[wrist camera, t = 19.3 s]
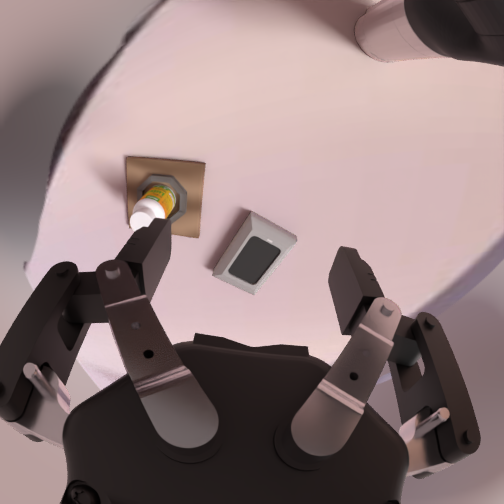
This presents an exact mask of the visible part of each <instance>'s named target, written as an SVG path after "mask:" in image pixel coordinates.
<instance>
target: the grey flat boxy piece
mask: <svg viewBox="0 0 504 504" xmlns="http://www.w3.org/2000/svg"><path fill="white" fill-rule="evenodd" d="M296 242H297V236H296V235H294V234H292V233H291V232H289V231H287V230H285V229H283V228H282V227H280V226H278V225H276V224H275V223H273V222H271V221H269V220H267V219H266V218H264V217H262V216H260V215H258V214H256V213H255V212H253V211H251V212H250V214H249V215H248V217H247V219H246V220H245V222H244V223H243V225H242V226H241V228H240V229H239V231H238V232H237V234H236V235H235V237H234V238H233V240H232V242H231V243H230V245H229V246H228V248H227V249H226V251H225V252H224V254H223V256H222V257H221V259H220V260H219V262H218V263H217V265H216V267H215V268H214V270H213V274H212V276H214V277H216V278H218V279H220V280H222V281H224V282H227V283H229V284H231V285H233V286H235V287H237V288H239V289H242V290H244V291H246V292H248V293H250V294H252V295H255V294H256V293H257V291H258V290H259V289H260V288H261V287H262V285H263V284H264V283H265V282H266V280H267V279H268V278H269V277H270V276H271V274H272V273H273V272H274V271H275V269H276V268H277V267H278V266H279V264H280V263H281V262H282V261H283V259H284V258H285V257H286V256H287V254H288V253H289V252H290V251H291V249H292V248H293V247H294V245H295V244H296Z"/></svg>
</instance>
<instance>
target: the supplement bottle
mask: <svg viewBox="0 0 504 504" xmlns="http://www.w3.org/2000/svg"><path fill="white" fill-rule="evenodd" d="M175 203H176V198H175V194H174V192H173V191H172V190H171V189H170V188H169V187H167V186H165V185H155V186H153V187H152V188H151V189H150V190H149V191H148V192H147V193H146V194H145V195H144V196H143V197H142V198H141V199H140V200H139V201H138V202H137V203H136V204H135V206H134V208H133V214H132V216H131V218H130V226H131V228H132V229H133V231H134V232H135V231H136V230H138V229H139V228H141V227H143V226H145V227H148V226H149V225H150V223H151V222H152V221H153V219H154V218H163V219H166V218H167V217H168V215H169V214H170V212H171V211H172V209H173V208H174V206H175Z"/></svg>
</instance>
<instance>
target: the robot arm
mask: <svg viewBox="0 0 504 504" xmlns="http://www.w3.org/2000/svg"><path fill="white" fill-rule="evenodd" d="M355 37H356V40H357V42H358V44H359V46H360V47H361V49H362V50H363V51H364V52H365V53H366V54H367V55H369V56H370V57H372V58H373V59H376V60H378V61H381V62H394V61H404V60H414V59H427V58H450V57H452V58H454V59H457V60H463V61H475V62H482V63H488V64H494V65H499V66H504V0H381V1H380V2H378V3H376V4H375V5H373V6H372V7H370V8H369V9H367V11H366V14H365V15H363V16H362V17H360V18H359V19H358V21H357V22H356V25H355ZM170 255H171V220H170V219H163V218H154V219H153V221H152V222H151V223H150V225H149V226H148V227H145V226H143V227H141V228H139V229H138V230H136V231H135V232H134V233H133V235H132V236H131V237H130V239H129V240H128V241H127V244H125V245H124V247H123V248H122V250H121V251H120V252H119V254H118V255H117V257H116V258H115V259H114V260H108V261H105V262H103V263H101V264H100V265H99V266H98V267H97V269H96V271H95V272H78V268H77V266H76V264H74V263H73V262H68V261H66V262H60V263H58V264H56V265H54V266H53V267H51V268H50V270H49V271H48V272H47V274H46V275H45V276H44V278H43V279H42V280H41V282H40V283H39V285H38V286H37V287H36V289H35V290H34V292H33V293H32V295H31V296H30V298H29V299H28V301H27V302H26V304H25V305H24V307H23V308H22V310H21V311H20V313H19V314H18V316H17V318H16V319H15V321H14V323H13V324H12V326H11V328H10V329H9V331H8V333H7V334H6V336H5V338H4V340H3V341H2V343H1V345H0V418H1V419H2V420H4V421H5V422H6V423H7V424H9V425H10V426H11V427H13V428H14V429H15V430H16V431H18V432H19V433H21V434H23V435H25V436H26V437H28V438H29V439H30V440H32V441H36V442H41V441H46V442H48V443H50V444H53V445H55V446H57V447H60V448H62V449H64V451H65V455H66V462H67V471H68V480H67V487H66V490H65V493H64V495H63V497H62V500H61V502H60V504H401V493H402V488H403V484H404V481H405V478H406V477H407V476H411V475H412V476H413V477H415V478H417V479H422V478H425V477H427V476H429V475H431V474H434V473H436V472H438V471H440V470H443V469H444V468H447V467H449V466H450V465H452V464H454V463H456V462H458V461H460V460H462V459H464V458H466V457H467V456H469V455H471V454H473V453H474V452H475V451H476V450H477V449H478V447H479V445H480V439H481V437H480V431H479V427H478V424H477V420H476V417H475V413H474V410H473V406H472V403H471V400H470V397H469V394H468V391H467V388H466V385H465V382H464V380H463V377H462V374H461V372H460V369H459V366H458V364H457V362H456V359H455V356H454V354H453V351H452V349H451V347H450V344H449V342H448V340H447V337H446V335H445V333H444V331H443V329H442V326H441V324H440V323H439V321H438V320H437V319H436V318H435V317H434V316H433V315H431V314H429V313H426V312H421V313H419V314H418V315H417V317H416V318H415V319H412V318H409V317H406V316H403V315H402V313H401V310H400V308H399V306H398V305H397V304H396V303H395V302H393V301H392V300H390V299H387V298H385V297H384V294H383V292H382V290H381V288H380V286H379V284H378V282H377V281H376V277H375V275H374V273H373V271H372V269H371V267H370V266H369V265H368V264H367V263H366V262H365V261H364V260H361V258H360V256H359V254H358V252H357V250H356V249H355V248H349V247H343V246H341V247H340V248H339V249H338V252H337V254H336V257H335V260H334V262H333V265H332V268H331V270H330V273H329V279H328V283H329V287H330V291H331V295H332V298H333V302H334V306H335V310H336V314H337V318H338V321H339V325H340V330H341V334H342V335H351V339H350V341H349V342H348V344H347V345H346V347H345V348H344V350H343V351H342V353H341V354H340V356H339V357H338V359H337V360H336V362H335V363H334V364H333V366H332V367H331V366H330V365H328V364H327V363H325V362H324V361H322V360H320V359H318V358H316V357H313V356H310V355H309V352H308V347H307V346H294V345H283V344H280V345H271V346H262V347H250V346H247V345H244V344H241V343H238V342H235V341H232V340H229V339H226V338H224V337H217V336H211V335H205V334H198V333H195V336H194V340H193V341H187V342H181V343H177V344H174V345H172V344H171V342H170V340H169V338H168V336H167V335H166V333H165V331H164V329H163V327H162V325H161V323H160V322H159V320H158V318H157V316H156V314H155V312H154V310H153V308H152V306H151V304H150V302H151V300H152V297H153V295H154V293H155V290H156V288H157V286H158V284H159V281H160V279H161V277H162V275H163V273H164V270H165V268H166V266H167V264H168V262H169V259H170ZM91 323H109V325H110V328H111V331H112V334H113V337H114V340H115V343H116V345H117V348H118V351H119V354H120V356H121V359H122V361H123V364H124V367H125V369H126V372H127V374H126V375H124V376H122V377H121V378H119V379H118V380H116V381H115V382H113V383H112V384H110V385H109V386H107V387H106V388H104V389H103V390H101V391H99V392H98V393H96V394H95V395H93V396H92V397H90V398H88V399H87V400H85V401H84V402H82V403H81V404H79V405H78V406H77V407H75V408H74V409H73V410H72V411H71V412H70V410H69V407H70V394H69V391H68V389H67V388H66V387H65V385H66V383H67V380H68V377H69V375H70V372H71V369H72V367H73V364H74V362H75V359H76V357H77V355H78V352H79V350H80V347H81V345H82V343H83V340H84V338H85V336H86V334H87V331H88V329H89V327H90V325H91ZM421 356H422V359H423V362H424V366H425V372H424V375H423V376H422V375H421V372H420V369H419V366H418V363H417V361H418V360H419V359H420V357H421ZM386 361H388V363H389V367H390V371H391V376H392V380H393V384H394V388H395V393H396V397H397V402H398V407H399V412H400V417H401V423H402V426H401V428H400V430H399V434H398V433H397V432H396V431H395V430H394V429H393V428H392V427H391V426H390V425H389V424H387V422H386V421H385V420H384V419H383V418H382V417H381V416H380V415H379V414H378V413H377V412H376V411H375V410H374V409H373V408H372V407H371V406H370V405H369V404H368V403H367V400H368V398H369V396H370V394H371V392H372V391H373V389H374V387H375V385H376V382H377V380H378V378H379V376H380V374H381V372H382V370H383V368H384V365H385V363H386Z"/></svg>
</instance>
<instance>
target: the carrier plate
mask: <svg viewBox="0 0 504 504" xmlns="http://www.w3.org/2000/svg"><path fill="white" fill-rule="evenodd" d="M126 164H127V201H128V219H129V228H131V226H130V218H131V216H132V214H133V208H134V206H135V204H136V203H137V202H138V201H139V200H140V199H141V198H142V197H143V196H144V195H145V194H146V193H147V192H148V191H149V190H150V189H151V188H152V187H153V186H155V185H165V186H167V187H169V188H170V189H171V190H172V191H173V192H174V194H175V198H176V203H175V206H174V208H173V209H172V211H171V212H170V214H169V215H168V217H167V218H166V219H170V220H171V234H172V235H179V236H186V237H193V238H199V235H200V220H201V207H202V195H203V184H204V173H205V163H200V162H191V161H181V160H170V159H159V158H145V157H127V158H126ZM131 229H132V228H131Z"/></svg>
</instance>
